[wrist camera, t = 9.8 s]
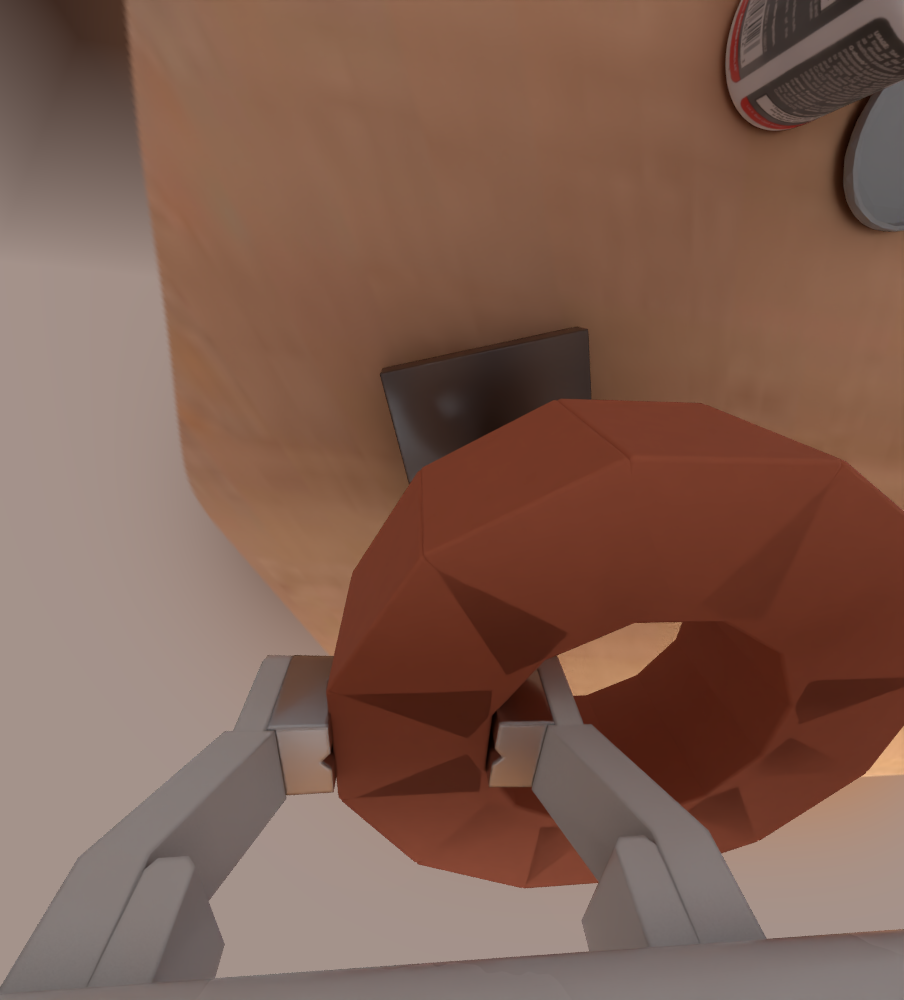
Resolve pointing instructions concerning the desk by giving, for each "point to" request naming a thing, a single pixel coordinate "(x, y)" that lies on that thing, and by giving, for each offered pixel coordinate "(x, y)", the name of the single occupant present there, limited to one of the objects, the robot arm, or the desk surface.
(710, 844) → the robot arm
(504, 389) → the peg on square base
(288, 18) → the desk surface
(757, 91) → the pill bottle
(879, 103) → the pocket watch
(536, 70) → the desk surface
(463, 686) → the ring
